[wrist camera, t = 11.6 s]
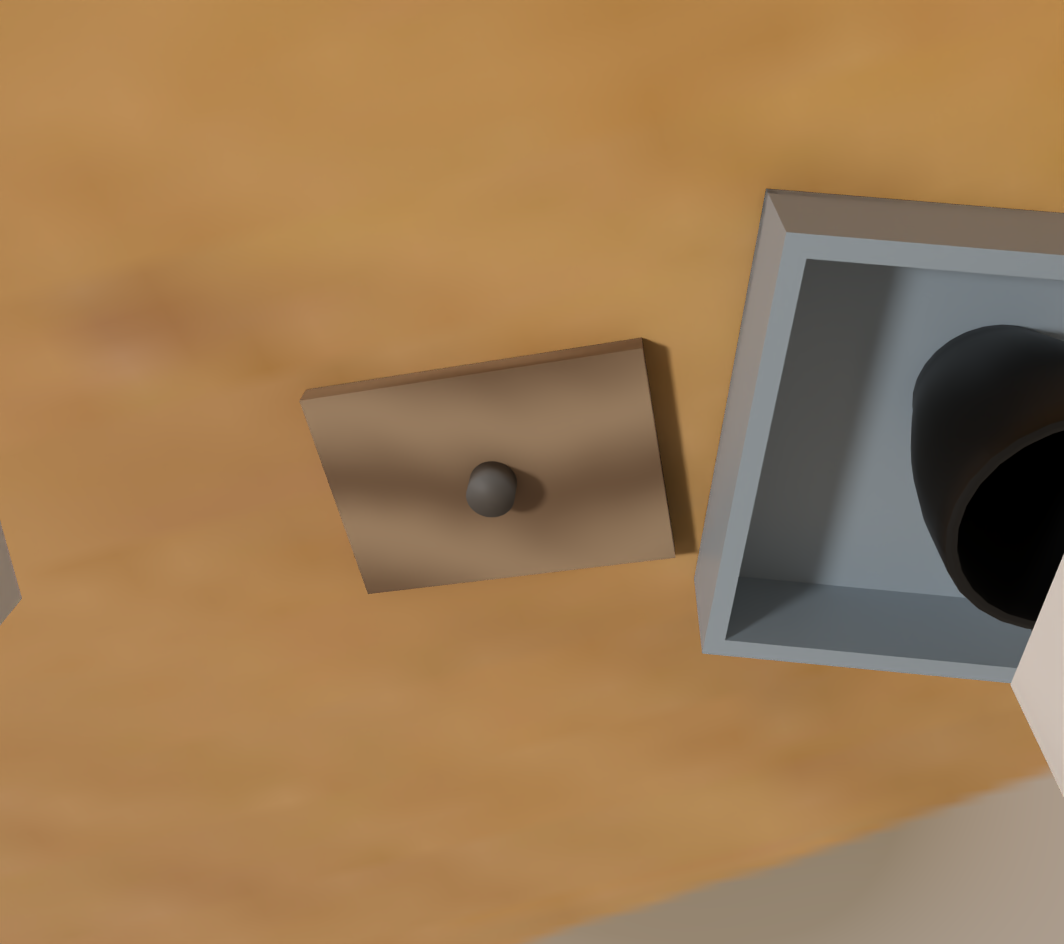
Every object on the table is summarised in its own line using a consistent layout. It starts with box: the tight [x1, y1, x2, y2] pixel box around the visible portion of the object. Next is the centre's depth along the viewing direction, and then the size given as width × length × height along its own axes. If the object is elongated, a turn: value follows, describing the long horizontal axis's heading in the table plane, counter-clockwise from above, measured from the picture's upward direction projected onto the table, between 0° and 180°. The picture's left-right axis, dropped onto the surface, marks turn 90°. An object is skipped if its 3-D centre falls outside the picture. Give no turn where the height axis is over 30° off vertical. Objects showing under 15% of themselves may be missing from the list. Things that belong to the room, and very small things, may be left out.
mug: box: [911, 324, 1064, 631], centre depth 35 cm, size 8×12×10 cm
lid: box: [300, 338, 675, 594], centre depth 42 cm, size 10×14×2 cm
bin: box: [694, 189, 1064, 683], centre depth 38 cm, size 18×20×5 cm
